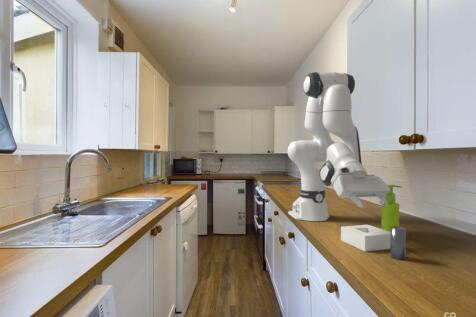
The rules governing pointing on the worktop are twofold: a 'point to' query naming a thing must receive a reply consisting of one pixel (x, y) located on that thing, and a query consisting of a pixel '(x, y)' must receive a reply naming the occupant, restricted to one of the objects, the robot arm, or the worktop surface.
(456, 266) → the worktop surface
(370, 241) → the socket block
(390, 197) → the soap dispenser
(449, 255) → the worktop surface
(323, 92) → the robot arm
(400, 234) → the metal peg
